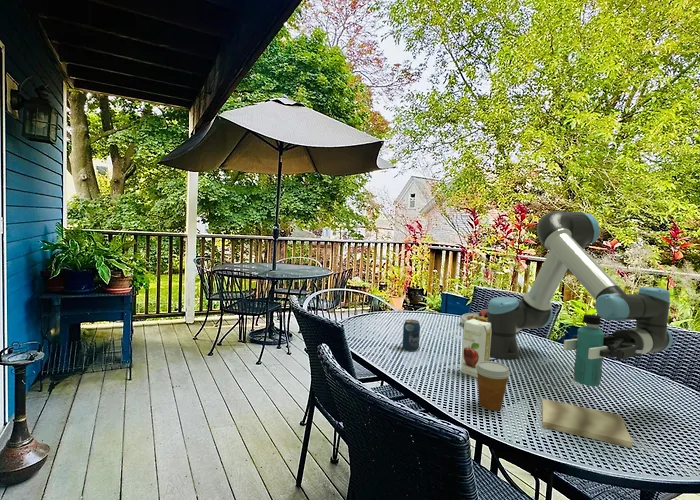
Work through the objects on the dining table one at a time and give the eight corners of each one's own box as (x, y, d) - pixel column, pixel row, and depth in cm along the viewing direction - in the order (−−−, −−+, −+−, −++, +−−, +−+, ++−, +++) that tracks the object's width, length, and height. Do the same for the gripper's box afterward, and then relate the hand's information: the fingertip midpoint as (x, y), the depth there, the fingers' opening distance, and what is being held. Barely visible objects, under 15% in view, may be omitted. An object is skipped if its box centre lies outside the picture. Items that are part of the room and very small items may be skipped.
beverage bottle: (604, 393, 106) (611, 319, 104) (576, 390, 107) (583, 316, 105) (594, 383, 112) (601, 313, 111) (568, 380, 113) (574, 311, 112)
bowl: (531, 338, 194) (533, 322, 194) (470, 335, 195) (471, 319, 194) (508, 322, 224) (509, 309, 224) (454, 320, 225) (455, 306, 224)
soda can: (411, 353, 163) (413, 324, 162) (398, 348, 169) (400, 320, 168) (422, 349, 168) (423, 321, 167) (409, 345, 173) (411, 318, 172)
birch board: (542, 426, 107) (542, 421, 107) (542, 403, 122) (542, 398, 122) (631, 447, 99) (632, 442, 99) (620, 420, 113) (620, 414, 113)
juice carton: (468, 367, 149) (472, 317, 148) (490, 374, 143) (494, 322, 142) (458, 372, 144) (461, 320, 143) (480, 380, 138) (484, 326, 137)
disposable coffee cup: (468, 398, 123) (471, 360, 122) (498, 398, 124) (501, 360, 123) (481, 413, 114) (484, 372, 113) (513, 413, 114) (516, 372, 113)
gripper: (666, 366, 108) (612, 376, 98) (596, 344, 125) (544, 351, 116) (669, 339, 107) (615, 346, 97) (598, 321, 125) (546, 326, 115)
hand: (577, 349), depth 107 cm, fingers closed on beverage bottle, 6 cm apart
